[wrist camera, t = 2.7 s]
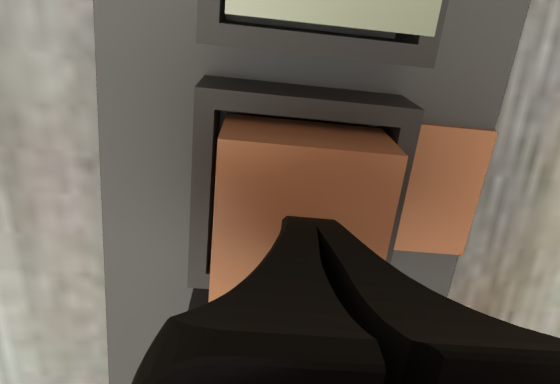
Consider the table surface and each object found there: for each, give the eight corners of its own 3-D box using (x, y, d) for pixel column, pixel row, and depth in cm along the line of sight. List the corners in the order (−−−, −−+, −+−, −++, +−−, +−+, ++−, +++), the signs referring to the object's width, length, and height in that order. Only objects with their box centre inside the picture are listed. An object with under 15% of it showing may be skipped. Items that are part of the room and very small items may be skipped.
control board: (561, -230, 14) (682, -325, 10) (393, 415, 24) (419, 500, 20) (104, -300, 13) (32, -437, 9) (123, 401, 23) (92, 486, 19)
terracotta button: (381, 128, 15) (408, 156, 12) (356, 262, 17) (374, 313, 14) (226, 113, 15) (217, 138, 12) (217, 252, 16) (208, 301, 14)
